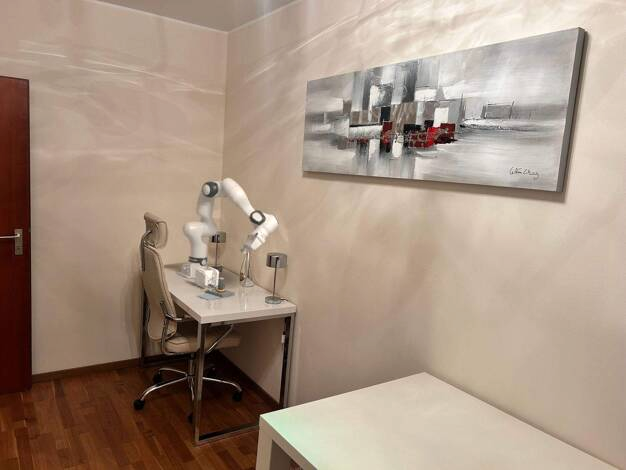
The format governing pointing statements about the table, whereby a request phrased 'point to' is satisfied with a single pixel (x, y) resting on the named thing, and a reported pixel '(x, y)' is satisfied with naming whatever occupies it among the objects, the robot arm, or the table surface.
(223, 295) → the socket block
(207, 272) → the cable organizer
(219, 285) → the plug
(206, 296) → the mat
